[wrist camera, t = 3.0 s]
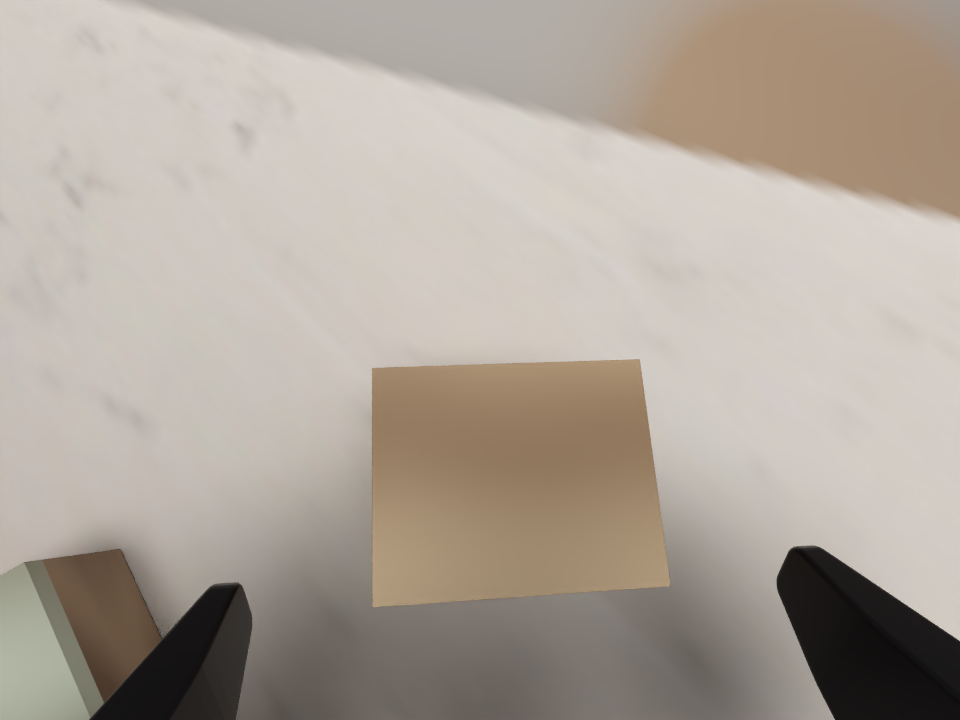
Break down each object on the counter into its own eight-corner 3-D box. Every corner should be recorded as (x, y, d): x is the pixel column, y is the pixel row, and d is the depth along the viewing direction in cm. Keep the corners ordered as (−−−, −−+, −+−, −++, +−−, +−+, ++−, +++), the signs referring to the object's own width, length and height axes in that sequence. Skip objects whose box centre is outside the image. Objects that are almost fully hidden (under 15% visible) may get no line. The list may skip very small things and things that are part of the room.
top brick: (557, 546, 18) (670, 585, 9) (405, 556, 17) (372, 607, 9) (546, 427, 19) (639, 359, 10) (403, 432, 18) (372, 367, 10)
